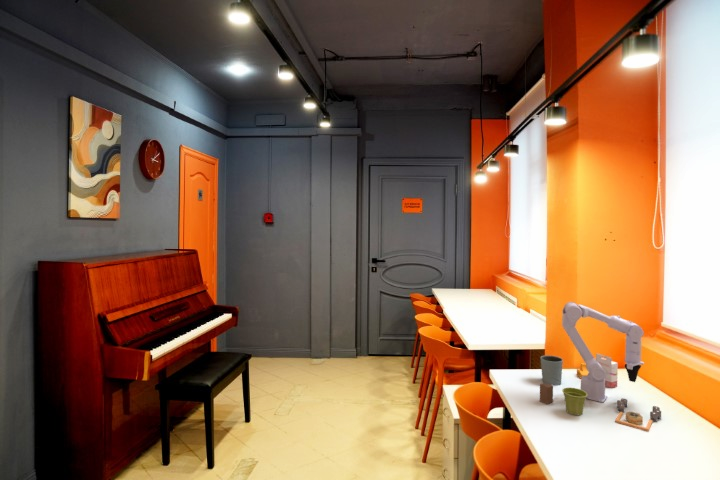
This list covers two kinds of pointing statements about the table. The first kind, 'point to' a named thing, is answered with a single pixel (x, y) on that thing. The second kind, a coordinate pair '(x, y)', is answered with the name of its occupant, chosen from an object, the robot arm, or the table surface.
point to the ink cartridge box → (608, 370)
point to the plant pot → (574, 400)
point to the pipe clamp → (582, 370)
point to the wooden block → (546, 393)
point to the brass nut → (634, 418)
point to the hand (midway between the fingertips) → (632, 381)
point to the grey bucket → (551, 369)
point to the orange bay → (633, 424)
